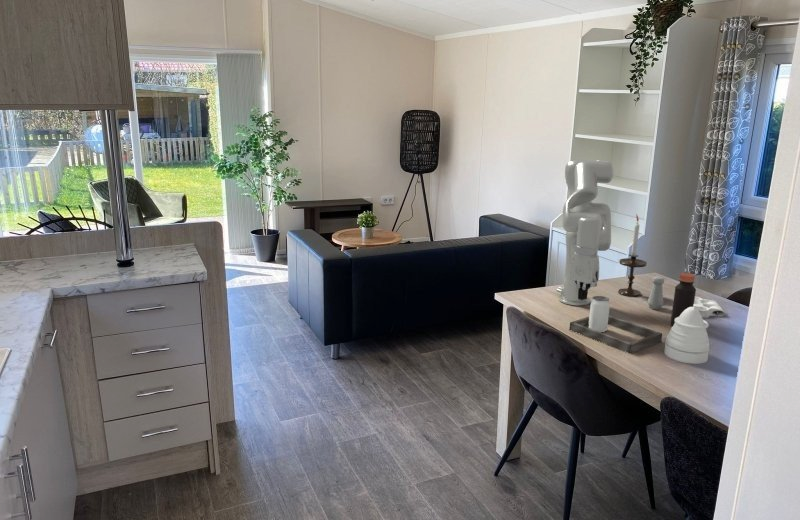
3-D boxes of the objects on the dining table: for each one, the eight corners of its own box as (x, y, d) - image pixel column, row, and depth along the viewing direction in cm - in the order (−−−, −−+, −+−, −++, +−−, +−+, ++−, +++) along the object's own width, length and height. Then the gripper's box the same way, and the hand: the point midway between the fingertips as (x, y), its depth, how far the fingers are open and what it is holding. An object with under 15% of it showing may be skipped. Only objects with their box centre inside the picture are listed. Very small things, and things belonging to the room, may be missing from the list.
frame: (569, 330, 212) (569, 322, 212) (600, 320, 223) (600, 312, 222) (630, 353, 193) (631, 345, 192) (661, 341, 203) (662, 333, 202)
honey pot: (716, 361, 188) (725, 308, 183) (683, 365, 184) (691, 311, 180) (687, 345, 200) (694, 295, 195) (655, 349, 196) (662, 298, 191)
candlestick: (611, 293, 254) (619, 213, 245) (623, 288, 261) (632, 210, 252) (635, 299, 247) (645, 217, 238) (647, 293, 254) (656, 214, 245)
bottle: (674, 321, 221) (681, 271, 216) (693, 326, 217) (700, 274, 211) (667, 326, 217) (674, 274, 212) (686, 331, 212) (693, 278, 207)
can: (607, 327, 215) (610, 296, 212) (606, 334, 209) (610, 302, 206) (588, 325, 217) (591, 294, 214) (588, 331, 211) (591, 300, 208)
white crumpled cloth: (726, 320, 224) (685, 317, 228) (714, 305, 241) (676, 302, 245) (728, 312, 223) (686, 308, 227) (716, 297, 240) (677, 294, 244)
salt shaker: (660, 306, 239) (664, 275, 235) (664, 310, 233) (668, 279, 230) (645, 305, 239) (648, 274, 236) (649, 310, 234) (653, 279, 230)
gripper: (563, 248, 216) (559, 295, 220) (597, 256, 204) (592, 306, 209) (576, 245, 220) (572, 292, 225) (610, 253, 208) (605, 302, 213)
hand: (582, 298), depth 217 cm, fingers closed
